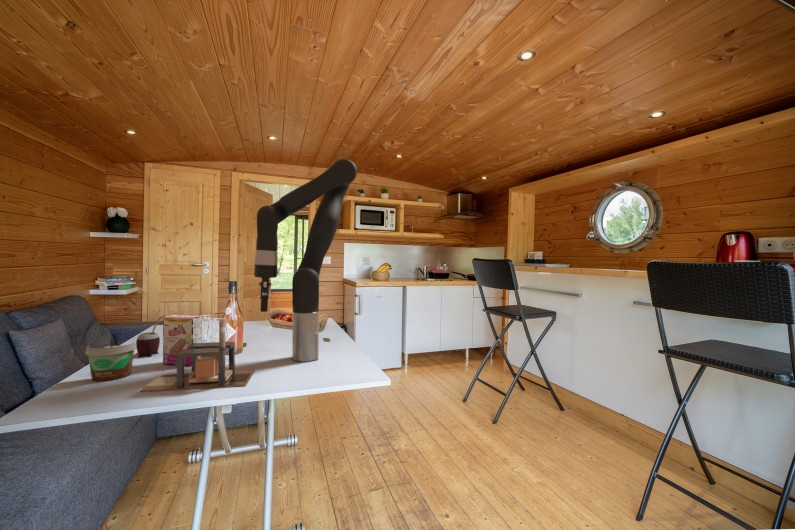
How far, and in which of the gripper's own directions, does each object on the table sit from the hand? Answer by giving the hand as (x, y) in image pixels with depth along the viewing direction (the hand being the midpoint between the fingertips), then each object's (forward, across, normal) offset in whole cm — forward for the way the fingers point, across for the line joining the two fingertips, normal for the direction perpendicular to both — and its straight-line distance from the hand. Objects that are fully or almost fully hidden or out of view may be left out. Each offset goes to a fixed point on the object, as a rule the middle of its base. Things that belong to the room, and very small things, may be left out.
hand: (264, 309), depth 122 cm
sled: (+18, -14, +14) cm, 27 cm away
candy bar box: (+20, +7, +26) cm, 33 cm away
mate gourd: (+20, +22, +39) cm, 49 cm away
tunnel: (+19, -14, +16) cm, 29 cm away
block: (+17, -14, +15) cm, 27 cm away
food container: (+20, -4, +42) cm, 47 cm away
